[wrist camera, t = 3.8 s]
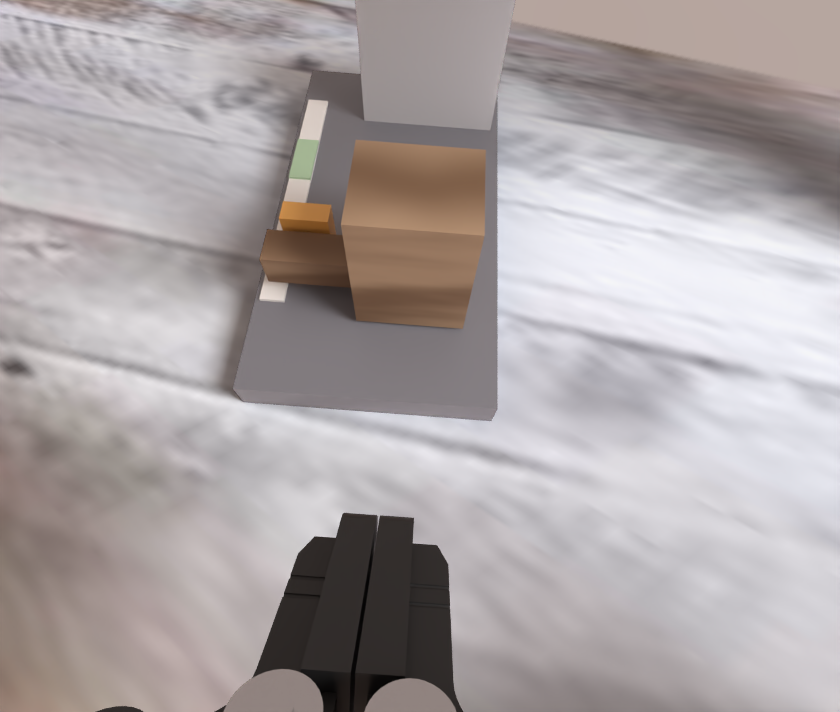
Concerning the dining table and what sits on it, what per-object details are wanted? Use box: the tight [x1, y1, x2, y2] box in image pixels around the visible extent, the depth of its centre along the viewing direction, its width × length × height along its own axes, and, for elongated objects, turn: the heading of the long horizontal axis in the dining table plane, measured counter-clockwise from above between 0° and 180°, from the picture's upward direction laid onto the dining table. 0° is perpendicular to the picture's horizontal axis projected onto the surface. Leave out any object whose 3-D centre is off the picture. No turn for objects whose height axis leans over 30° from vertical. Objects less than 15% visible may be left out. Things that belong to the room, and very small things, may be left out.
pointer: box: [279, 201, 336, 235], centre depth 28 cm, size 1×4×4 cm, turn 86°
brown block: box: [259, 140, 486, 329], centre depth 25 cm, size 5×11×8 cm, turn 86°
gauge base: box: [233, 0, 515, 421], centre depth 28 cm, size 26×14×12 cm, turn 176°
